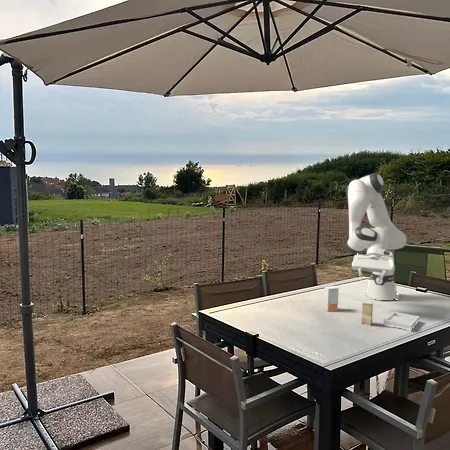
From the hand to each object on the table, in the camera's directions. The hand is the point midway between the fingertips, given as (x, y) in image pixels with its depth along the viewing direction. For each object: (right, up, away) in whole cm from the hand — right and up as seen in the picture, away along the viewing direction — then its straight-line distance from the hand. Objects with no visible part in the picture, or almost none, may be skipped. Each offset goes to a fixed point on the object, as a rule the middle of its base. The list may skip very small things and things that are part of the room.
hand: (370, 277), depth 206 cm
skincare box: (-17, -18, +12) cm, 27 cm away
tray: (+11, -21, -9) cm, 25 cm away
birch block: (-5, -21, -9) cm, 23 cm away
